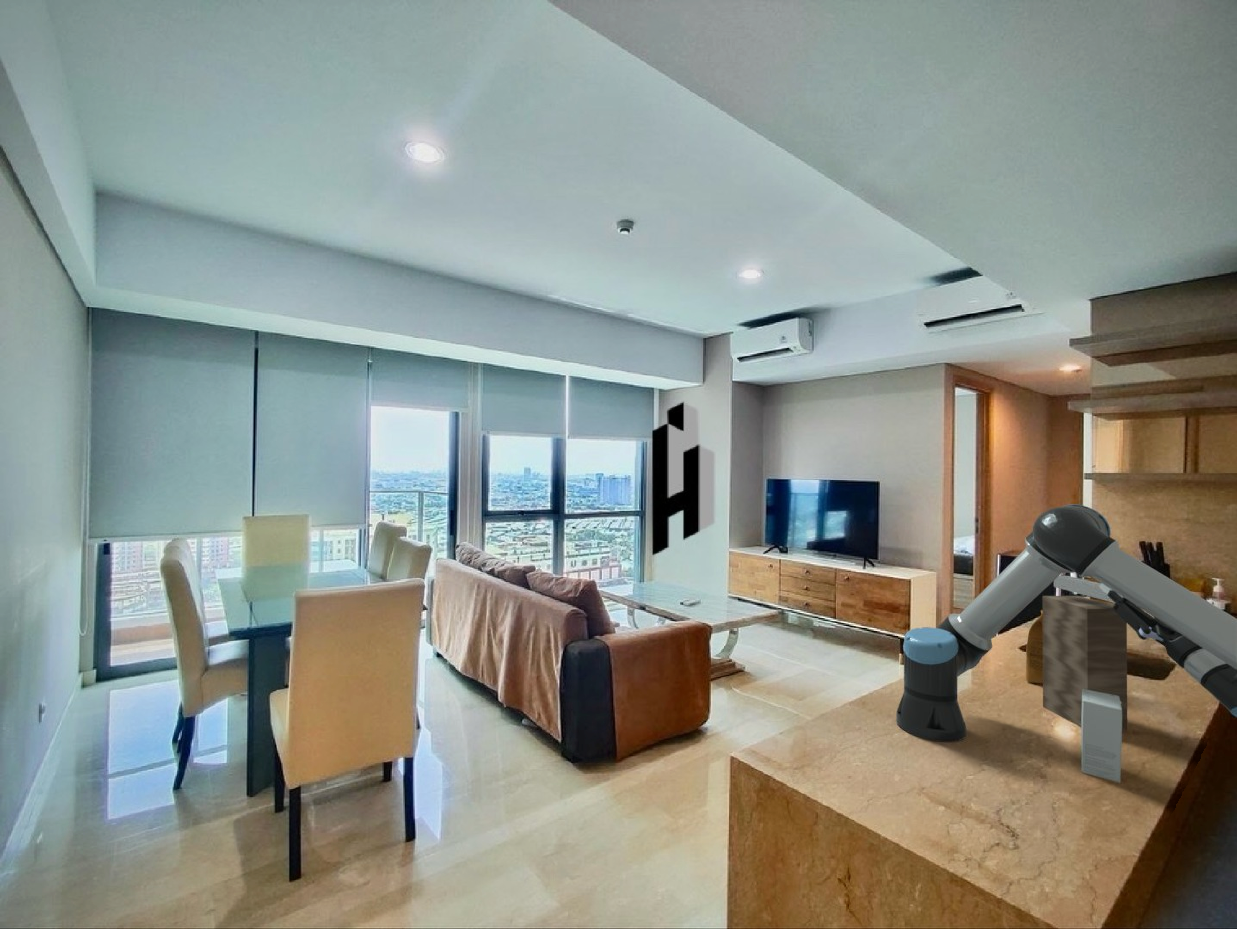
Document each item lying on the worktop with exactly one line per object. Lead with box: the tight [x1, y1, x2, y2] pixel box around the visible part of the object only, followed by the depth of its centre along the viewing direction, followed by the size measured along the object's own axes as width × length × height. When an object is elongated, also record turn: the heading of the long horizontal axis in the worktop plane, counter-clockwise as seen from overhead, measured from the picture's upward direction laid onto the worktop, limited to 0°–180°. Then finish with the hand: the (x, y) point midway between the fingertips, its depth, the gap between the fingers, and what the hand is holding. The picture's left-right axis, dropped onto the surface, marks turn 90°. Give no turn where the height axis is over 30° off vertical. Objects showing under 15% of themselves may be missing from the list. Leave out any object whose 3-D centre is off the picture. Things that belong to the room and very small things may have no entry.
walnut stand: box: [1042, 595, 1128, 731], centre depth 145 cm, size 14×10×30 cm
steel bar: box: [1053, 575, 1141, 609], centre depth 140 cm, size 23×4×3 cm, turn 2°
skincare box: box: [1080, 689, 1123, 784], centre depth 119 cm, size 8×7×16 cm
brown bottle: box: [1025, 609, 1043, 685], centre depth 170 cm, size 10×12×22 cm
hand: (1112, 583), depth 137 cm, fingers closed on steel bar, 4 cm apart
